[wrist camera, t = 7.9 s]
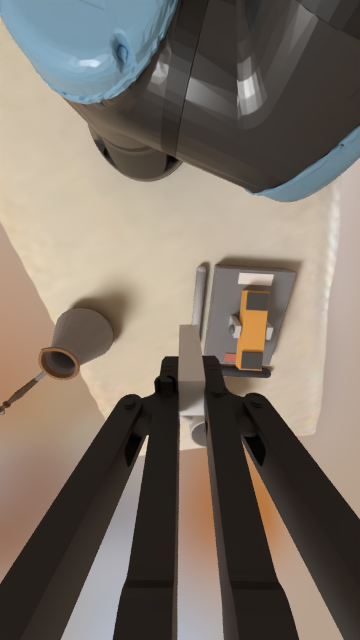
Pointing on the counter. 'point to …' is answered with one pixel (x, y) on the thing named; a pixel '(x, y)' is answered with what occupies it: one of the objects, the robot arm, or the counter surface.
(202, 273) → the grey rod
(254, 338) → the lever
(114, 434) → the robot arm
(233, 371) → the black rounded bar
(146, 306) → the counter surface
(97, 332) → the coffee pot
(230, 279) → the panel
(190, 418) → the mug
